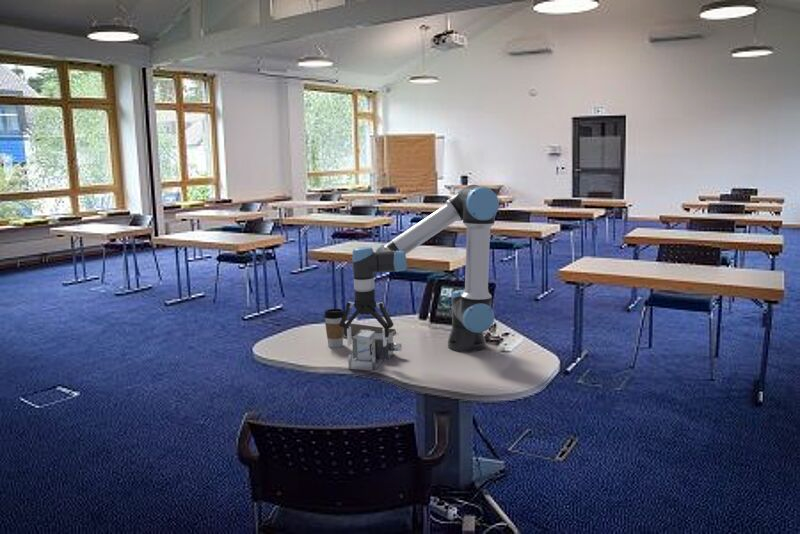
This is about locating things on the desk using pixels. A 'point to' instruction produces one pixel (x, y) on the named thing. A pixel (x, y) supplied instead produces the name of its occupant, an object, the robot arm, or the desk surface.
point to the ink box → (366, 345)
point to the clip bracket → (364, 363)
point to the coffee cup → (334, 327)
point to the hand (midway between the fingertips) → (367, 345)
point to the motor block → (379, 346)
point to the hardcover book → (356, 328)
